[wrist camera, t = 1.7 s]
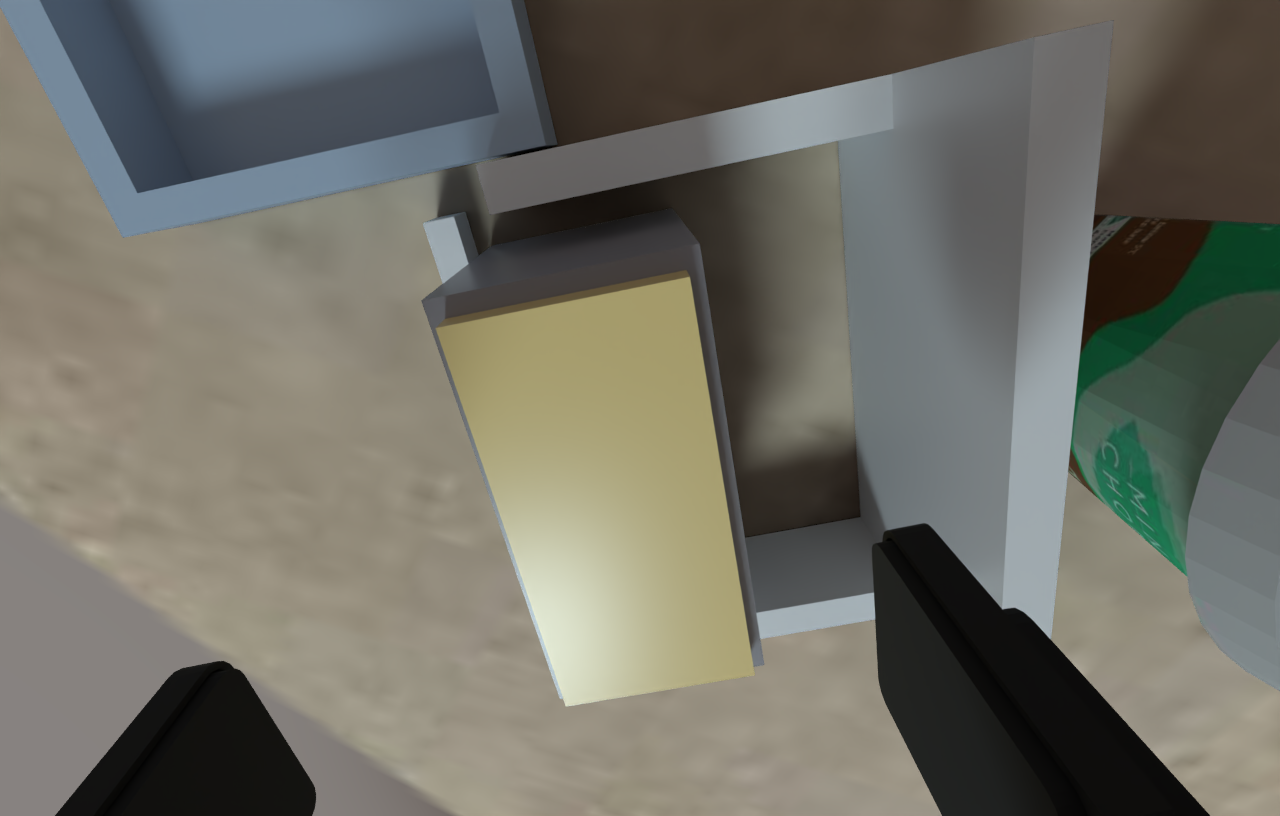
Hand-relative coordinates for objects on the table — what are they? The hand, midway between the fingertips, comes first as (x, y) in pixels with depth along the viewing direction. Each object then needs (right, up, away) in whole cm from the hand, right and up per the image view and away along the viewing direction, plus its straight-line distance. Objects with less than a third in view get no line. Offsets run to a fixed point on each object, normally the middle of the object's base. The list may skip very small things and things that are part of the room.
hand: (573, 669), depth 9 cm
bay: (+3, +5, +9) cm, 11 cm away
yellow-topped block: (0, +4, +10) cm, 10 cm away
